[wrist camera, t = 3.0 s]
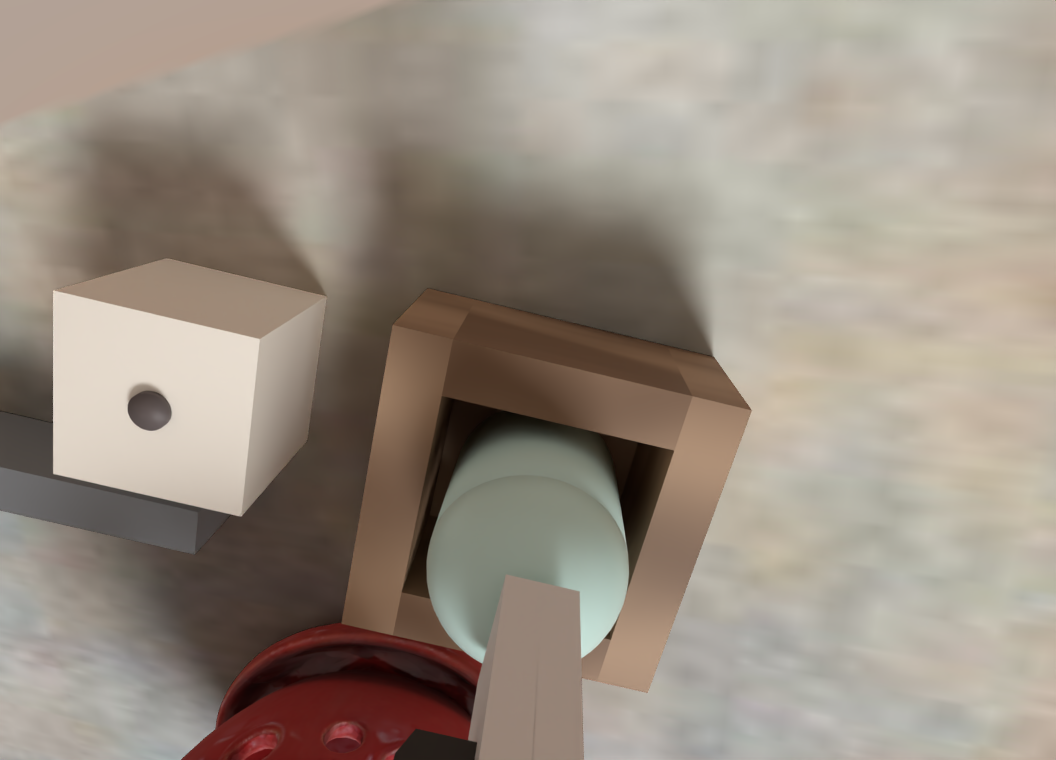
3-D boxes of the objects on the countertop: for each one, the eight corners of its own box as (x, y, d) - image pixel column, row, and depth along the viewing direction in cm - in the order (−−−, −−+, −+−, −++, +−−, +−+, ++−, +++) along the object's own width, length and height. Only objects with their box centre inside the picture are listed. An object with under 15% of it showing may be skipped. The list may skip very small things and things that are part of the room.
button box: (632, 595, 24) (647, 693, 20) (381, 537, 24) (341, 623, 19) (713, 356, 21) (751, 410, 17) (427, 288, 21) (392, 324, 17)
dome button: (592, 563, 21) (604, 745, 15) (442, 528, 21) (389, 696, 15) (634, 425, 20) (668, 562, 13) (473, 387, 20) (428, 507, 13)
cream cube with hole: (308, 439, 23) (237, 520, 18) (160, 405, 23) (47, 477, 18) (327, 295, 21) (256, 341, 16) (168, 257, 21) (46, 291, 16)
